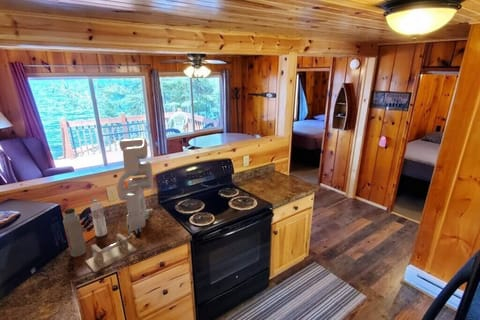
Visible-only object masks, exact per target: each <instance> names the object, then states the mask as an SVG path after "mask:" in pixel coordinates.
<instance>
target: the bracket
mask: <svg viewBox="0 0 480 320" xmlns="http://www.w3.org/2000/svg"><path fill="white" fill-rule="evenodd" d="M115 236H116V242H118V241H122V244H121V245H119V246H117V247H115V248H113V249H111V250H109V251H107V252H105V253H102V250H101V249H102V248H100V247H99V246H97V244H96V243H95V244H92V245H91V251H92V254H93V253H95V252H96V253H97V257H95V258H94V257H93V256H92V257H90V258H89V259H86V260H85V262H84V263H86V265H87V266H88V267H89V269H91V270H92V271H93V273H96V272H98V271H100V270H102V269H104V268H105V267H107V266H109V265H111V264H113V263H115V262H117V261H119V260H121V259H123V258H124V257H126V256H128V255H131V254H133V253H134V252H136V251H137V248H136V247H135V245H133V244H131V243H130V242H129V241H128V242H127V237H125V236H124V235H123V234H121V233H117V234H115Z"/></svg>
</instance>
